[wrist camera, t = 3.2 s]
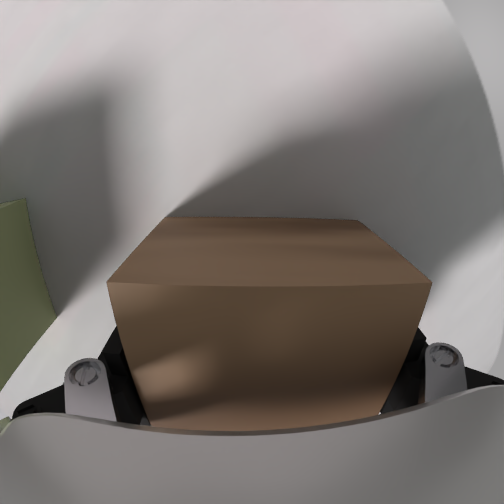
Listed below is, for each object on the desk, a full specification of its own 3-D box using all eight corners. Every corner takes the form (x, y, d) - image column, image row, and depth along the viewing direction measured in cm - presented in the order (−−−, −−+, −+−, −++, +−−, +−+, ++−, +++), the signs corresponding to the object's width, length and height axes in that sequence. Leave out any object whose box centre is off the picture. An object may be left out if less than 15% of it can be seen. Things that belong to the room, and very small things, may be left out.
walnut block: (165, 216, 10) (106, 282, 5) (357, 220, 10) (432, 282, 6) (182, 364, 12) (163, 453, 8) (330, 363, 13) (358, 448, 8)
